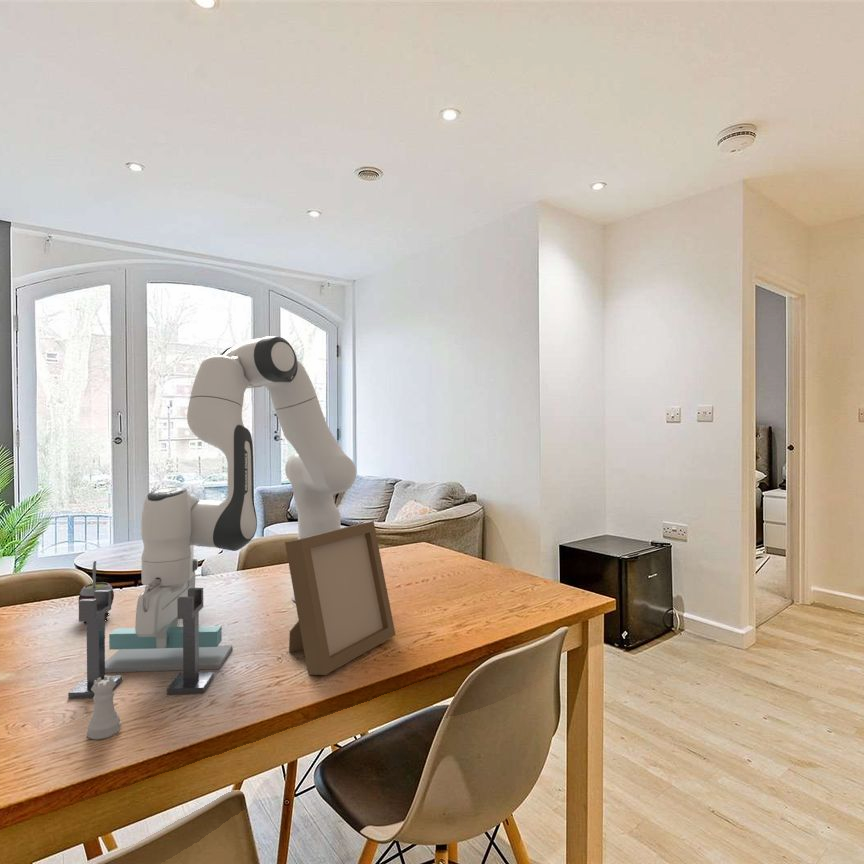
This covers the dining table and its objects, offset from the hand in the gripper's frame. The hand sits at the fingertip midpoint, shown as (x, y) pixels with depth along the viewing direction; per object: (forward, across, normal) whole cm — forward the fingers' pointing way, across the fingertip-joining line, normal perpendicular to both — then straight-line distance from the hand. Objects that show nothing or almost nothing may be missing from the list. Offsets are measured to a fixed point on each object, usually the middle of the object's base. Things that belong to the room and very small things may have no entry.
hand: (167, 642), depth 108 cm
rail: (+1, 0, 0) cm, 1 cm away
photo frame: (+4, +2, -32) cm, 33 cm away
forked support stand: (+4, -11, 0) cm, 12 cm away
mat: (+4, 0, 0) cm, 4 cm away
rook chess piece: (+4, -25, 0) cm, 25 cm away
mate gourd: (+4, +24, +25) cm, 35 cm away
